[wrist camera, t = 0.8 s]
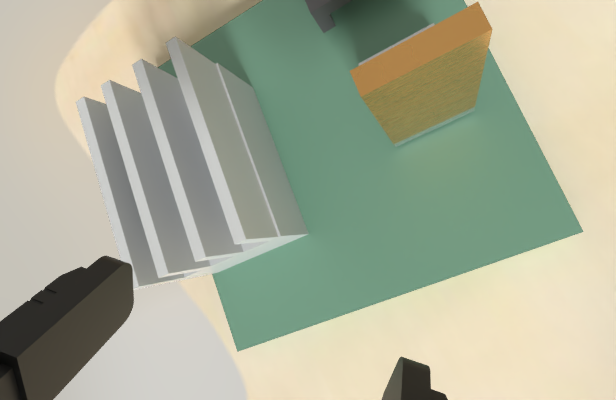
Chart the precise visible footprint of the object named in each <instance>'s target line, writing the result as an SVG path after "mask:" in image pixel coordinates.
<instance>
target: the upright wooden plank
mask: <svg viewBox="0 0 616 400" xmlns="http://www.w3.org/2000/svg"><path fill="white" fill-rule="evenodd" d="M491 33H492V28H491V26H490V24H489V22H488V20H487V18H486V16H485V14H484V12H483V11H482V9H481V7H480V5H479V3H478V2H477V3H475V4H473V5H471V6H469V7H467V8H465V9H464V10H462V11H460V12H458V13H456V14H454V15H452V16H451V17H449V18H447V19H445V20H443V21H441V22H439V23H438V24H436V25H435V24H434V23H432V24H431V25H429V26H427V27H425V28H423V29H421V30H420V31H418V32H416V33H414V34H412V35H410V36H408V37H407V38H405V39H403V40H401V41H399V42H397V43H396V44H394V45H392V46H390V47H388V48H386V49H384V50H383V51H381V52H379V53H377V54H375V55H373V56H372V57H370V58H368V59H366V60H364V61H362V62H360V63H359V64H358V65H359V66H358V67H356V68H354V69H352V70H350V73H351V75H352V78H353V80H354V82H355V85H356V87H357V89H358V92H359V94H360V96H361V98H362V99H363V101H364V102H365V104H366V105H367V107H368V108H369V109H370V111H371V112H372V114H373V115H374V117H375V118H376V120H377V121H378V122H379V124H380V125H381V127H382V128H383V130H384V131H385V133H386V134H387V136H388V137H389V138H390V140H391V141H392V143H393V144H394V146H395V147H398V146H400V145H402V144H404V143H406V142H408V141H411V140H413V139H415V138H417V137H419V136H421V135H424V134H426V133H428V132H430V131H432V130H434V129H437V128H439V127H441V126H443V125H445V124H447V123H450V122H452V121H454V120H456V119H458V118H460V117H463V116H465V115H467V114H469V113H471V112H473V111H474V109H475V105H476V100H477V96H478V91H479V87H480V82H481V78H482V73H483V69H484V64H485V60H486V55H487V51H488V46H489V42H490V37H491Z"/></svg>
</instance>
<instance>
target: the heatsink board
mask: <svg viewBox="0 0 616 400" xmlns="http://www.w3.org/2000/svg"><path fill="white" fill-rule="evenodd" d="M465 8H467V5H466V3H465V2H464V0H262V1H261V2H259V3H258V4H256V5H255V6H253V7H252V8H250V9H248V10H247V11H245V12H244V13H242V14H241V15H239V16H237V17H236V18H234V19H233V20H231V21H230V22H228V23H227V24H225V25H223V26H222V27H220V28H219V29H217V30H216V31H214V32H212V33H211V34H209V35H208V36H206V37H205V38H203V39H202V40H200V41H198V42H197V43H195V44H194V45H192V46H191V47H190V46H189V45H187V44H186V43H184V42H183V41H181V40H180V39H178V38H177V37H176V36H175V37H174V38H172V39H171V40H169V41H168V42H166V45H167V48H168V51H169V54H170V57H171V59H170V60H169V61H167V62H166V63H164V64H163V65H161V66H159V67H158V68H157V67H156V66H154V65H152V64H150V63H148V62H146V61H144V60H143V59H140V60H139V61H137V62H136V63H134V64H133V65H132V66H133V69H134V72H135V75H136V78H137V81H138V85H139V88H140V91H141V93H139V92H137V91H134V90H132V89H130V88H127V87H125V86H123V85H120V84H118V83H116V82H113V81H111V80H108V81H107V82H105V83H104V84H102V85H101V88H102V91H103V95H104V98H105V101H106V104H104V103H101V102H98V101H95V100H92V99H89V98H87V97H83V98H81V99H80V100H78V101H77V102H76V104H77V108H78V111H79V115H80V118H81V122H82V125H83V129H84V132H85V136H86V140H87V143H88V147H89V150H90V154H91V157H92V161H93V164H94V168H95V171H96V175H97V178H98V182H99V185H100V189H101V192H102V196H103V199H104V203H105V206H106V210H107V213H108V217H109V221H110V224H111V228H112V231H113V235H114V238H115V242H116V245H117V248H118V252H119V256H120V259H121V261H123V262H126V263H129V264H131V266H132V269H133V290H136V289H140V288H146V287H150V286H155V285H160V284H165V283H170V282H174V281H180V280H185V279H190V278H194V277H199V276H204V275H209V274H212V275H213V278H214V281H215V284H216V287H217V290H218V293H219V296H220V299H221V302H222V305H223V308H224V312H225V315H226V318H227V321H228V324H229V327H230V330H231V333H232V336H233V339H234V342H235V345H236V348H237V351H241V350H244V349H246V348H249V347H252V346H255V345H258V344H261V343H264V342H267V341H270V340H272V339H275V338H278V337H281V336H284V335H287V334H290V333H293V332H296V331H298V330H301V329H304V328H307V327H310V326H313V325H316V324H319V323H321V322H324V321H327V320H330V319H333V318H336V317H339V316H342V315H345V314H347V313H350V312H353V311H356V310H359V309H362V308H365V307H368V306H371V305H373V304H376V303H379V302H382V301H385V300H388V299H391V298H394V297H397V296H399V295H402V294H405V293H408V292H411V291H414V290H417V289H420V288H422V287H425V286H428V285H431V284H434V283H437V282H440V281H443V280H446V279H448V278H451V277H454V276H457V275H460V274H463V273H466V272H469V271H472V270H474V269H477V268H480V267H483V266H486V265H489V264H492V263H495V262H497V261H500V260H503V259H506V258H509V257H512V256H515V255H518V254H521V253H523V252H526V251H529V250H532V249H535V248H538V247H541V246H544V245H547V244H549V243H552V242H555V241H558V240H561V239H564V238H567V237H570V236H572V235H575V234H578V233H581V232H583V230H582V228H581V226H580V224H579V222H578V220H577V218H576V216H575V215H574V213H573V211H572V209H571V207H570V205H569V203H568V201H567V199H566V197H565V195H564V193H563V191H562V189H561V187H560V186H559V184H558V182H557V180H556V178H555V176H554V174H553V172H552V170H551V168H550V166H549V164H548V162H547V160H546V158H545V156H544V155H543V153H542V151H541V149H540V147H539V145H538V143H537V141H536V139H535V137H534V135H533V133H532V131H531V129H530V127H529V125H528V124H527V122H526V120H525V118H524V116H523V114H522V112H521V110H520V108H519V106H518V104H517V102H516V100H515V98H514V96H513V94H512V93H511V91H510V89H509V87H508V85H507V83H506V81H505V79H504V77H503V75H502V73H501V71H500V69H499V67H498V65H497V63H496V62H495V60H494V58H493V56H492V54H491V52H490V50H489V48H488V51H487V55H486V60H485V64H484V69H483V73H482V78H481V82H480V87H479V91H478V96H477V100H476V105H475V109H474V111H473V112H471V113H469V114H467V115H465V116H463V117H460V118H458V119H456V120H454V121H452V122H450V123H447V124H445V125H443V126H441V127H439V128H437V129H434V130H432V131H430V132H428V133H426V134H424V135H421V136H419V137H417V138H415V139H413V140H411V141H408V142H406V143H404V144H402V145H400V146H398V147H395V146H394V144H393V143H392V141H391V140H390V138H389V137H388V136H387V134H386V133H385V131H384V130H383V128H382V127H381V125H380V124H379V122H378V121H377V120H376V118H375V117H374V115H373V114H372V112H371V111H370V109H369V108H368V107H367V105H366V104H365V102H364V101H363V99H362V98H361V96H360V94H359V92H358V89H357V87H356V85H355V82H354V80H353V78H352V75H351V73H350V70H352V69H354V68H356V67H358V66H359V65H358V64H359V63H360V62H362V61H364V60H366V59H368V58H370V57H372V56H373V55H375V54H377V53H379V52H381V51H383V50H384V49H386V48H388V47H390V46H392V45H394V44H396V43H397V42H399V41H401V40H403V39H405V38H407V37H408V36H410V35H412V34H414V33H416V32H418V31H420V30H421V29H423V28H425V27H427V26H429V25H431V24H432V23H434V24H435V25H436V24H438V23H439V22H441V21H443V20H445V19H447V18H449V17H451V16H452V15H454V14H456V13H458V12H460V11H462V10H464V9H465Z"/></svg>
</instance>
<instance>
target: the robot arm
mask: <svg viewBox="0 0 616 400" xmlns="http://www.w3.org/2000/svg"><path fill="white" fill-rule="evenodd" d="M133 301H134V297H133V269H132V266H131V264H129V263H126V262H123V261H121V260H117V259H115V258H111V257H109V256H103V257H101V258H99V259H98V260H97V261H96V262H94V263H93V264H92V265H91V266H89V267H88V268H87V269H86V268H83V267H80V268H77V269H75V270H73V271H70V272H68V273H66V274H63V275H61V276H60V277H58V278H57V279H56V280H54V281H53V282H52V283H50V284H49V285H48V286H46V287H45V289H44V290H43V291H42V290H41V291H40V292H38V293H37V294H36V295H35V296H33V297H32V298H31V300H30V301H27V302H25V303H24V304H23V305H21V306H20V307H19V308H17V309H16V310H15V311H14V312H12V313H11V314H10V315H8V316H7V317H6V318H4V319H3V320H2V321H1V322H0V400H53V399H54V398H55V397H56V396H57V395H58V394H59V393H60V391H62V389H63V388H64V387H65V386H66V385H67V384H68V383H69V382H70V381H71V380H72V379H73V378H74V376H75V375H76V374H77V373H78V372H79V371H80V370H81V369H82V368H83V367H84V366H85V365H86V363H87V362H88V361H89V360H90V359H91V358H92V357H93V356H94V355H95V354H96V353H97V352H98V351H99V349H100V348H101V347H102V346H103V345H104V344H105V343H106V342H107V341H108V340H109V338H111V336H112V335H113V334H114V333H115V332H116V331H117V330H118V329H119V328H120V327H121V326H122V324H123V323H124V322H125V321H126V320H127V318H128V317H129V315H130V313H131V311H132V308H133V303H134V302H133ZM382 400H448V399H447V397H446V395H445V394H443V393H440V392H437V391H435V390H432V389H431V384H430V368H429V366H427V365H424V364H421V363H418V362H415V361H412V360H409V359H406V358H404V357H400V358H399V360H398V362H397V365H396V367H395V369H394V371H393V374H392V376H391V378H390V380H389V382H388V385H387V387H386V389H385V392H384V394H383V397H382Z"/></svg>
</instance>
